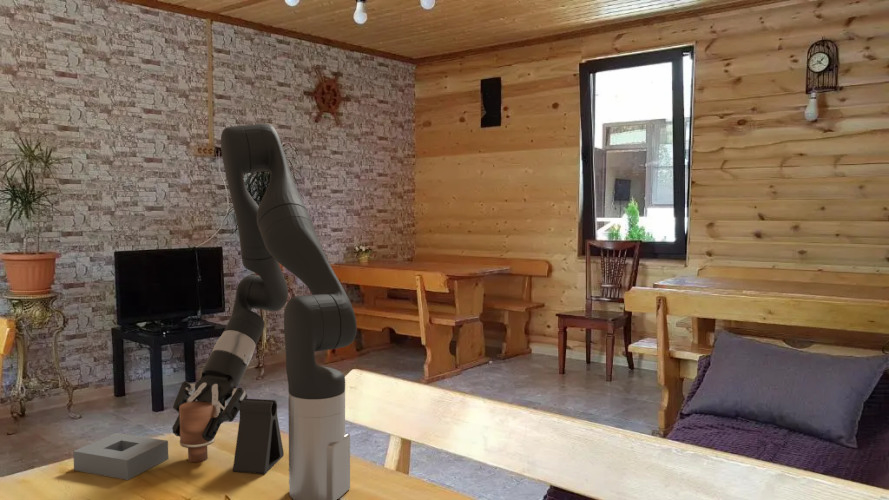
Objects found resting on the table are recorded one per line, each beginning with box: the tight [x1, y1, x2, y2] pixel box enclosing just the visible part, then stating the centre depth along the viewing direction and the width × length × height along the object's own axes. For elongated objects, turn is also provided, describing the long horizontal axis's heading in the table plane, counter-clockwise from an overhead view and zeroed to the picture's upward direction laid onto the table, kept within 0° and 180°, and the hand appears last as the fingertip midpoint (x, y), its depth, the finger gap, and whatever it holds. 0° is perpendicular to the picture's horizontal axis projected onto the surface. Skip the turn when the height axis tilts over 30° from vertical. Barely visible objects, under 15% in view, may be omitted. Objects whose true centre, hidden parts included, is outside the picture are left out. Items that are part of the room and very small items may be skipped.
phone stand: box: [232, 398, 285, 475], centre depth 126 cm, size 9×6×12 cm, turn 171°
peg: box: [178, 400, 216, 463], centre depth 128 cm, size 6×6×10 cm
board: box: [73, 432, 169, 481], centre depth 126 cm, size 12×10×4 cm
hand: (191, 436), depth 127 cm, fingers closed on peg, 6 cm apart
